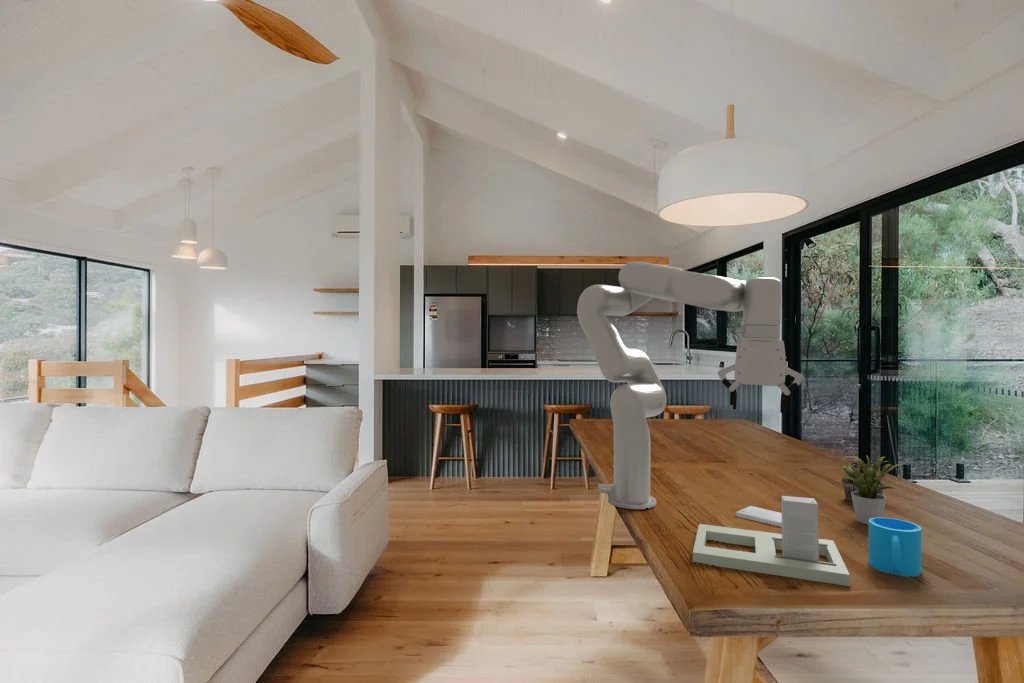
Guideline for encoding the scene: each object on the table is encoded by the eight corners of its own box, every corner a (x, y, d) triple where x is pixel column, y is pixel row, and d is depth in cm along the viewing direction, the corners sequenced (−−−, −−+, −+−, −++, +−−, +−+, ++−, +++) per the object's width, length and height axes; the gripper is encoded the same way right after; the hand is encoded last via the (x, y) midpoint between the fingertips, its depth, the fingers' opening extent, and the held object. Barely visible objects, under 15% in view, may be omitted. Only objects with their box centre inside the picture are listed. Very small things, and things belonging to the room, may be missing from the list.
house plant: (903, 517, 132) (903, 450, 132) (918, 535, 120) (918, 461, 120) (836, 509, 138) (835, 445, 138) (843, 525, 126) (843, 455, 126)
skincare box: (815, 559, 106) (815, 498, 106) (819, 567, 102) (819, 503, 102) (780, 554, 108) (780, 494, 108) (783, 562, 104) (783, 500, 104)
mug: (868, 555, 108) (868, 514, 108) (919, 565, 103) (919, 522, 103) (868, 577, 98) (868, 532, 98) (925, 588, 93) (925, 541, 93)
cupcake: (888, 507, 140) (888, 469, 140) (845, 503, 143) (845, 465, 143) (879, 498, 149) (879, 461, 149) (838, 494, 152) (838, 458, 152)
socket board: (692, 562, 104) (692, 551, 104) (699, 532, 121) (699, 522, 121) (849, 586, 94) (849, 573, 94) (833, 550, 110) (833, 539, 110)
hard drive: (735, 511, 133) (788, 524, 123) (751, 505, 138) (802, 516, 129) (735, 518, 133) (788, 531, 123) (751, 511, 138) (802, 523, 129)
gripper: (718, 332, 120) (715, 409, 120) (806, 334, 113) (803, 416, 113) (720, 332, 127) (717, 405, 127) (803, 335, 119) (800, 412, 120)
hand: (758, 410), depth 120 cm, fingers open, 9 cm apart
